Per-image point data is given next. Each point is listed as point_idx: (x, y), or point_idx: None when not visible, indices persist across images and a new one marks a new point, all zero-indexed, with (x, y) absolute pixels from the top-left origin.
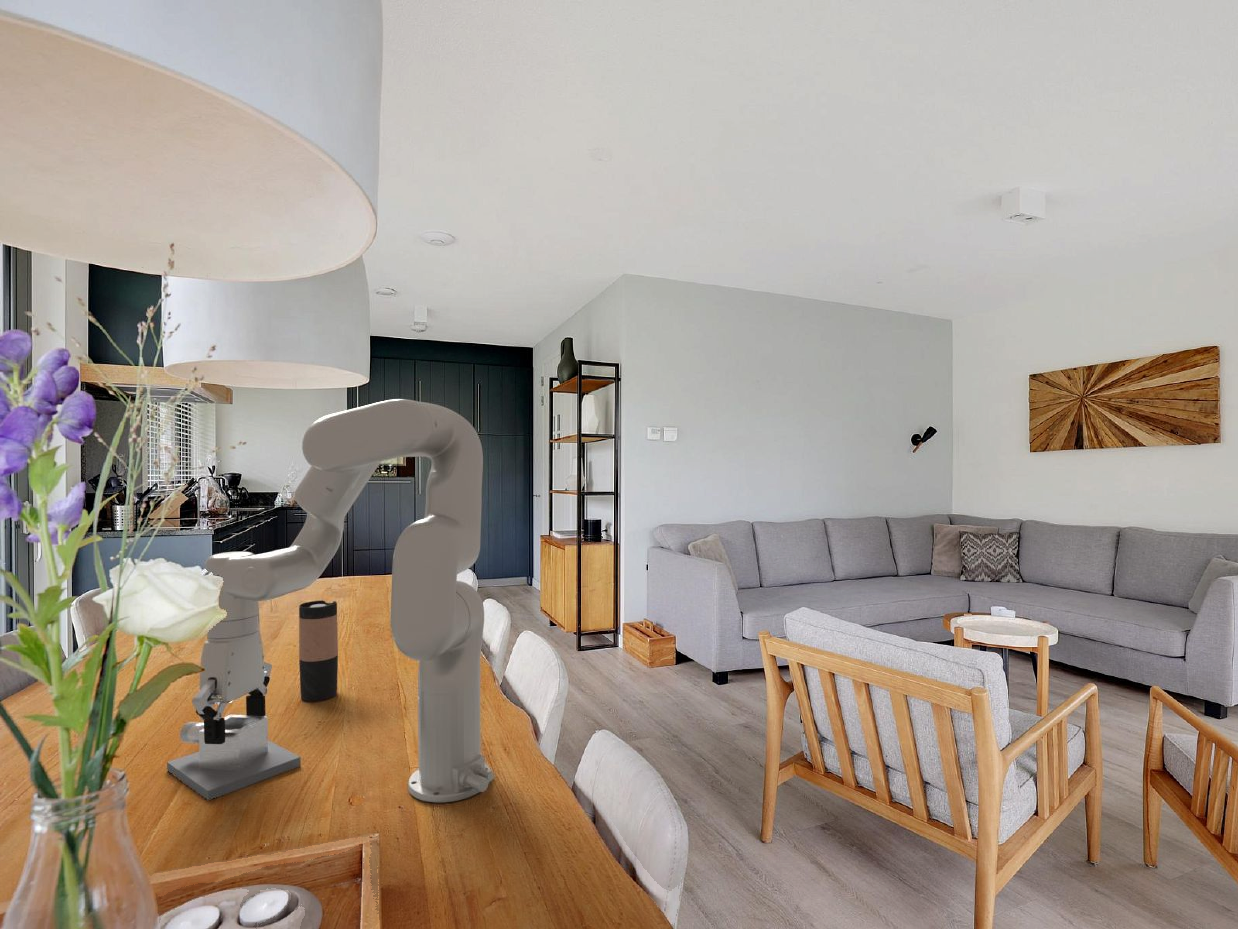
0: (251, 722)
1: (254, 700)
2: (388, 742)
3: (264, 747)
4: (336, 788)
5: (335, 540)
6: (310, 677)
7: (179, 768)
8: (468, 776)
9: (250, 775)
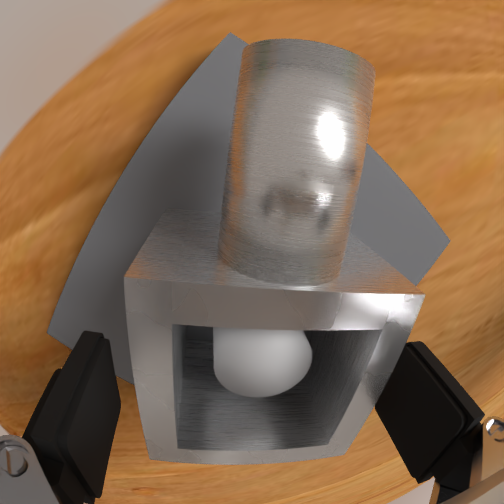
0: (278, 450)
1: (430, 446)
2: (345, 469)
3: None
4: (170, 476)
5: None
6: None
7: (165, 123)
8: None
9: None
